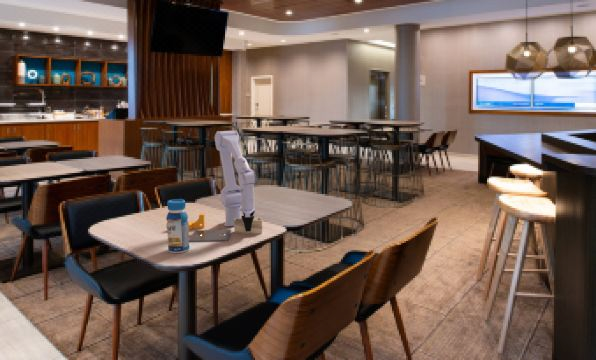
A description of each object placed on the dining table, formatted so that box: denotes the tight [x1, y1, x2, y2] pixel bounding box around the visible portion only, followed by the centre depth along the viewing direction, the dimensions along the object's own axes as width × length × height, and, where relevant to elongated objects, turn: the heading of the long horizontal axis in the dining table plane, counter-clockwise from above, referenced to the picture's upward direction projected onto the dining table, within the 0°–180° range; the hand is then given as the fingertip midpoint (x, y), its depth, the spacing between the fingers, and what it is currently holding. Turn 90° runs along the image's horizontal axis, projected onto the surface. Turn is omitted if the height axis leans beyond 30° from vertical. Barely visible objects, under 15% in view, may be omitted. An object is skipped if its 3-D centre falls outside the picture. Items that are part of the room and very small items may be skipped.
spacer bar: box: [233, 217, 263, 235], centre depth 198 cm, size 4×12×6 cm, turn 93°
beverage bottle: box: [165, 198, 191, 254], centre depth 174 cm, size 8×8×20 cm
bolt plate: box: [189, 229, 232, 243], centre depth 193 cm, size 14×16×1 cm
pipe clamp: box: [188, 213, 206, 231], centre depth 204 cm, size 12×4×6 cm, turn 94°
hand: (248, 228), depth 198 cm, fingers open, 7 cm apart
